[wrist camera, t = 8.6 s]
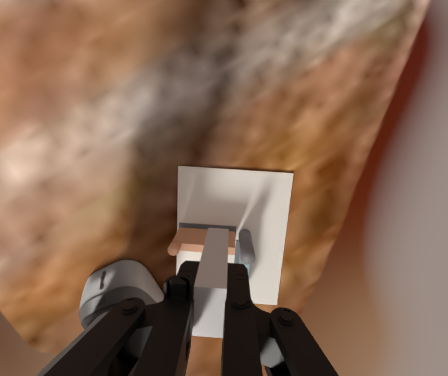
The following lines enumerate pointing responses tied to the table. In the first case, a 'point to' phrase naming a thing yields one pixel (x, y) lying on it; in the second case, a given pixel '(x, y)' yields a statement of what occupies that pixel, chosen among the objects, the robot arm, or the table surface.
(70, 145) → the table surface
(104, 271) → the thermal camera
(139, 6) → the table surface
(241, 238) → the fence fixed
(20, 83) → the table surface
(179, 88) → the table surface
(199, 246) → the fence panel
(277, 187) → the card
